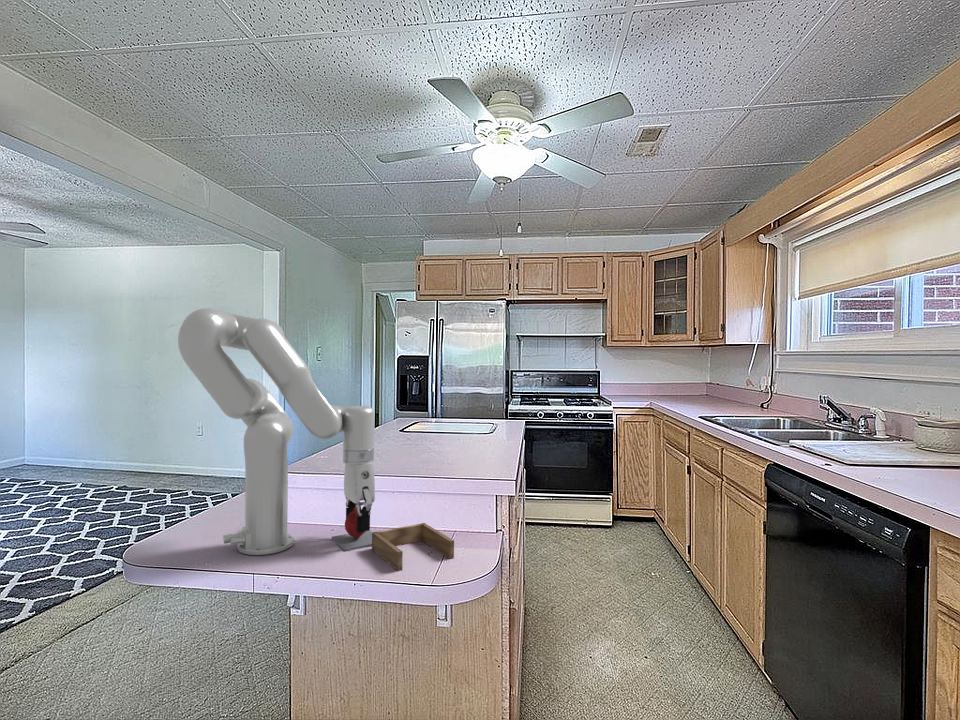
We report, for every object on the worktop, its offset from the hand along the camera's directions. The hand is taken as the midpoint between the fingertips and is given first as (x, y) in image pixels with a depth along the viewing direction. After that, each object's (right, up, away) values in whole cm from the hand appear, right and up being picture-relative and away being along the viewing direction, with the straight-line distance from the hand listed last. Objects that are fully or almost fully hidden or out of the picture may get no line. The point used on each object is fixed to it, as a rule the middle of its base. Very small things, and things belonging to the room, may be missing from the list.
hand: (357, 526), depth 131 cm
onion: (0, -3, 0) cm, 3 cm away
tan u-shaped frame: (+15, -4, -8) cm, 17 cm away
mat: (0, -4, 0) cm, 4 cm away
